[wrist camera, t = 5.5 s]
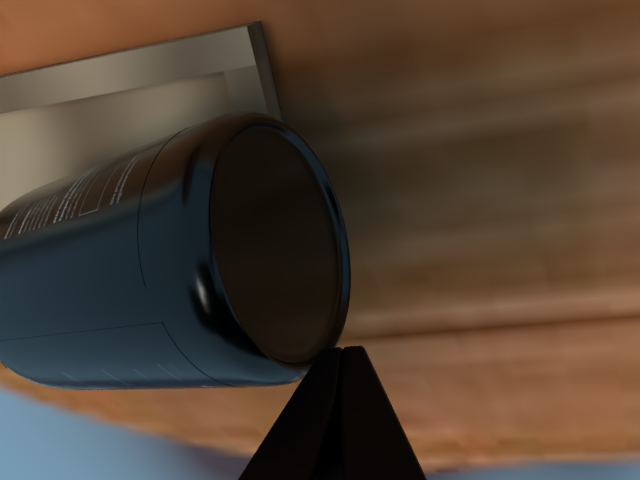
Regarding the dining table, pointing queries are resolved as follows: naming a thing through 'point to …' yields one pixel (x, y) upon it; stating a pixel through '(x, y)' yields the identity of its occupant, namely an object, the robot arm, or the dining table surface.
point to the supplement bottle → (178, 265)
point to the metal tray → (125, 102)
